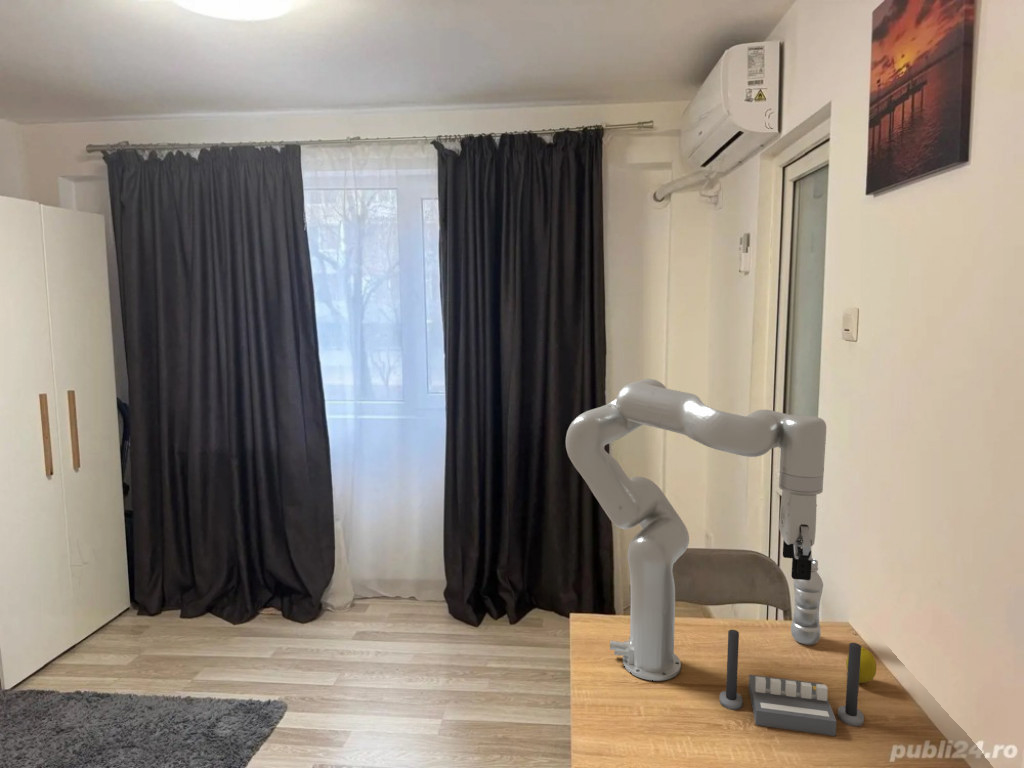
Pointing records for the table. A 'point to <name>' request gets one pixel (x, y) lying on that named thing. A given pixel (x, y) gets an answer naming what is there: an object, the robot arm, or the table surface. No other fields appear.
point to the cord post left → (732, 675)
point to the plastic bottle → (807, 608)
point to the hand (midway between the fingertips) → (795, 567)
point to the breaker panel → (791, 710)
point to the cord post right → (852, 689)
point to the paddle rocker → (791, 689)
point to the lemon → (866, 666)
